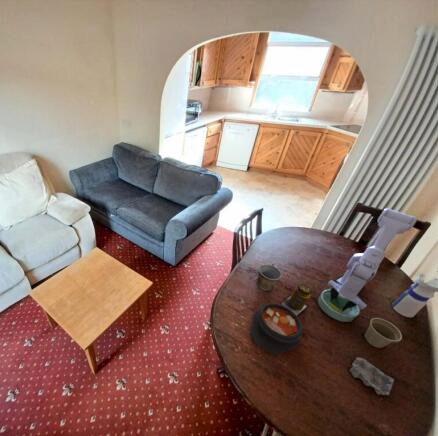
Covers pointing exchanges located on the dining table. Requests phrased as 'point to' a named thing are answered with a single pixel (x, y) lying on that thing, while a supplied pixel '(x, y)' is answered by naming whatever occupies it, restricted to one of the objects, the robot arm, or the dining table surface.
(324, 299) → the bowl
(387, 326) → the flower pot
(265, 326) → the casserole
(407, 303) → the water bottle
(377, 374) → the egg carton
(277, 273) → the ceramic cup
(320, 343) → the dining table surface
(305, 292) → the condiment
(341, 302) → the sponge
